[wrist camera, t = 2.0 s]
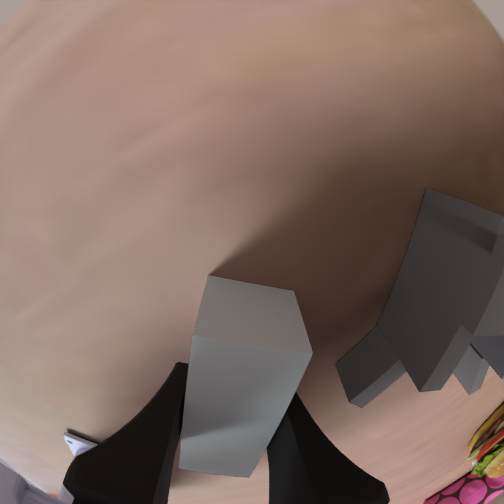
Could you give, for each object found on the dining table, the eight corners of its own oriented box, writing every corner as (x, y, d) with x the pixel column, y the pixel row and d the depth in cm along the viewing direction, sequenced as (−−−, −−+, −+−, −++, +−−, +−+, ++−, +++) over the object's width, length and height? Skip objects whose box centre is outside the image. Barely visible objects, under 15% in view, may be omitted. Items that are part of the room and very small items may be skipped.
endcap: (458, 368, 14) (496, 421, 9) (331, 370, 13) (360, 456, 8) (521, 233, 11) (583, 267, 6) (403, 178, 10) (497, 210, 5)
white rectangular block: (248, 420, 15) (249, 477, 11) (188, 411, 14) (178, 468, 11) (293, 290, 12) (312, 353, 8) (208, 274, 11) (192, 335, 8)
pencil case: (515, 430, 23) (538, 467, 14) (516, 438, 26) (535, 470, 16) (414, 502, 28) (427, 542, 19) (429, 501, 31) (441, 536, 21)
